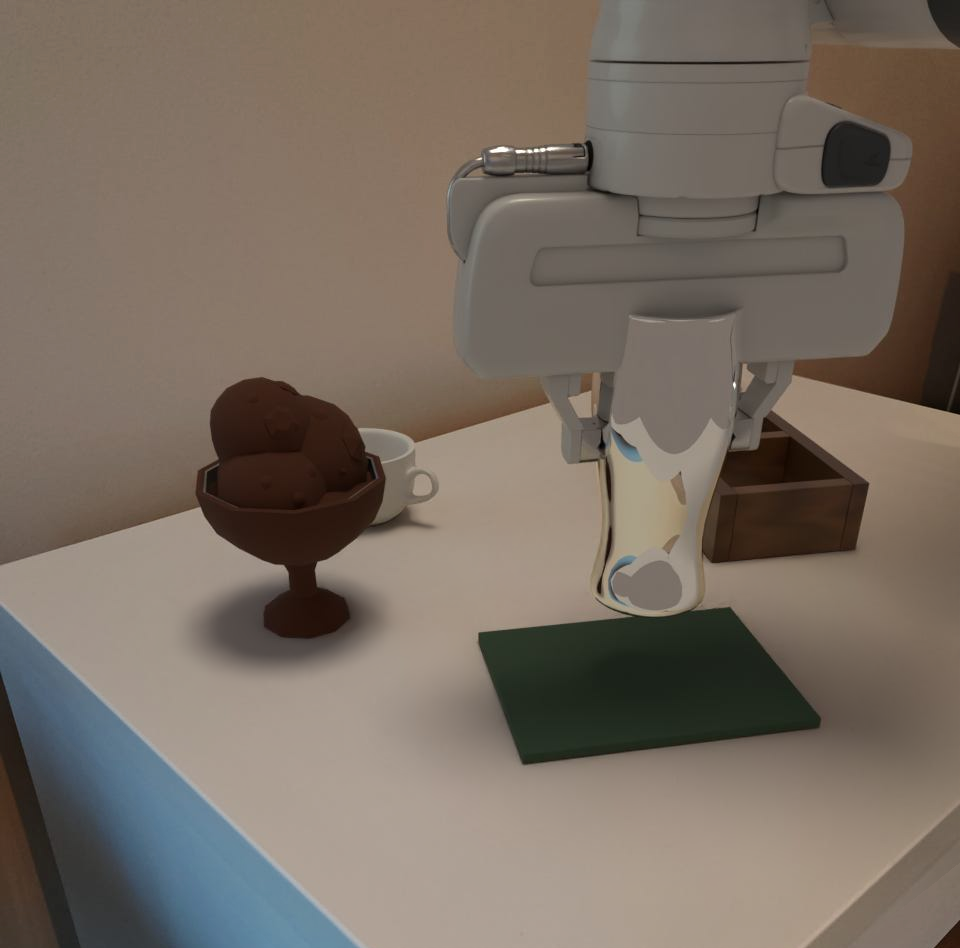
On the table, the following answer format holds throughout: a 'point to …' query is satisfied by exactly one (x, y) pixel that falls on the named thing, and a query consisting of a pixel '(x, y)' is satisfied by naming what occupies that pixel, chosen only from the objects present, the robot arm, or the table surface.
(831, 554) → the table surface
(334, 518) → the ice cream bowl
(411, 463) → the teacup
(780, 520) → the divided wooden box
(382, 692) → the table surface
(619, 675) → the mat
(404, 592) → the table surface
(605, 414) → the beer glass
